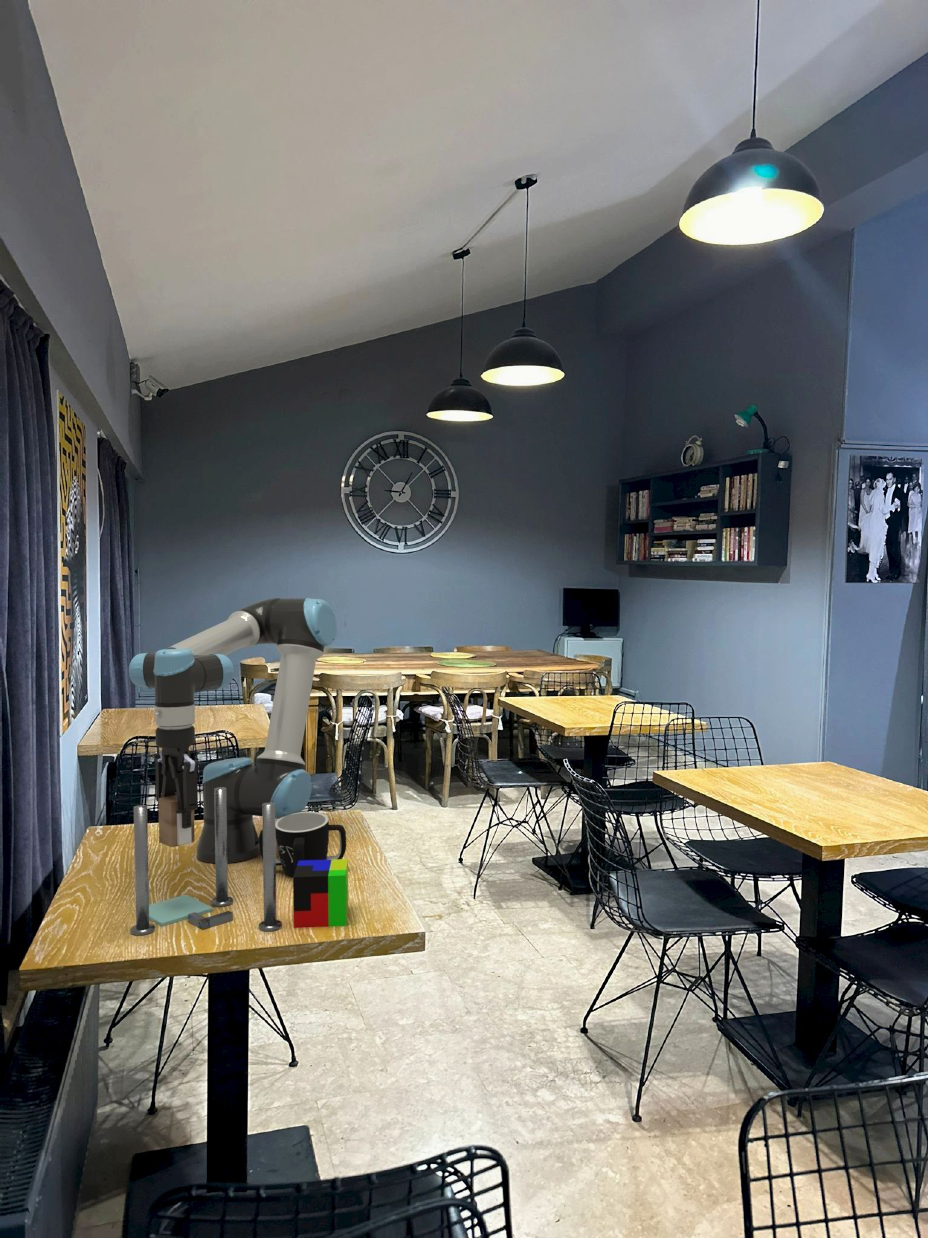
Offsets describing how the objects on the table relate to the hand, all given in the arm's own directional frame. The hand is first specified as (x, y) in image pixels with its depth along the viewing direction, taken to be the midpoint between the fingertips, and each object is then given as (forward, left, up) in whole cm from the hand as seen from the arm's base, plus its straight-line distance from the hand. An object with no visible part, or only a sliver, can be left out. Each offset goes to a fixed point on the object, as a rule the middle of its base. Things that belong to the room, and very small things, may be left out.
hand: (177, 840), depth 175 cm
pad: (-1, 0, -15) cm, 15 cm away
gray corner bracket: (+9, +2, -15) cm, 17 cm away
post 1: (+4, -9, -15) cm, 18 cm away
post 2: (+2, +9, -15) cm, 17 cm away
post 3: (+20, +9, -15) cm, 26 cm away
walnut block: (0, 0, 0) cm, 0 cm away
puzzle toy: (+23, +19, -15) cm, 33 cm away
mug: (-2, +32, -15) cm, 35 cm away
